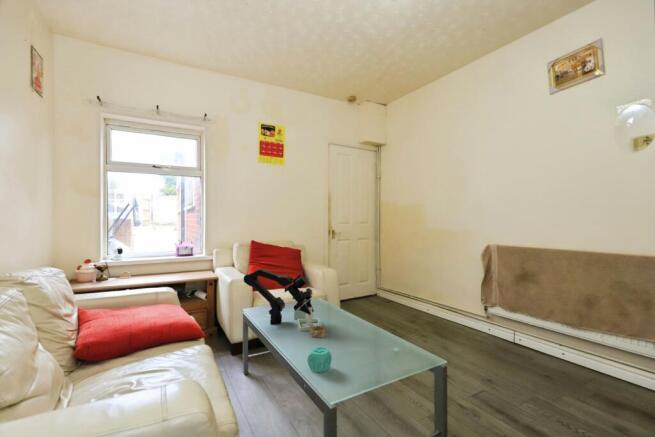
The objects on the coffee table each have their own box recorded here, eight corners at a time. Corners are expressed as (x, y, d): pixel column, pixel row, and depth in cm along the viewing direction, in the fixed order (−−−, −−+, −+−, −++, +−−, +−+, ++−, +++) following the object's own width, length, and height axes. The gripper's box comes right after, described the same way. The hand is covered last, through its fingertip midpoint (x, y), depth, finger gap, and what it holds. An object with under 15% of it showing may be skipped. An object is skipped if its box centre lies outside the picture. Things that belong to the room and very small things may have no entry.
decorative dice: (306, 369, 129) (307, 351, 129) (317, 361, 135) (317, 344, 135) (321, 374, 124) (322, 356, 124) (331, 367, 131) (332, 349, 131)
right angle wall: (312, 320, 190) (312, 309, 190) (294, 320, 190) (294, 308, 190) (313, 314, 202) (313, 303, 202) (296, 313, 202) (296, 303, 202)
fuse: (307, 327, 174) (307, 309, 174) (304, 325, 178) (304, 307, 178) (314, 326, 176) (313, 307, 177) (310, 324, 180) (310, 306, 180)
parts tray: (299, 332, 169) (299, 327, 169) (297, 323, 182) (297, 319, 182) (322, 331, 172) (322, 326, 172) (318, 322, 185) (318, 318, 185)
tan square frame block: (311, 339, 160) (312, 331, 160) (309, 332, 169) (309, 326, 168) (326, 338, 162) (326, 331, 162) (323, 332, 170) (323, 325, 170)
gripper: (299, 288, 169) (316, 309, 166) (309, 281, 187) (325, 300, 184) (286, 300, 171) (303, 321, 168) (297, 292, 189) (313, 311, 186)
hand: (312, 313), depth 176 cm, fingers open, 5 cm apart
